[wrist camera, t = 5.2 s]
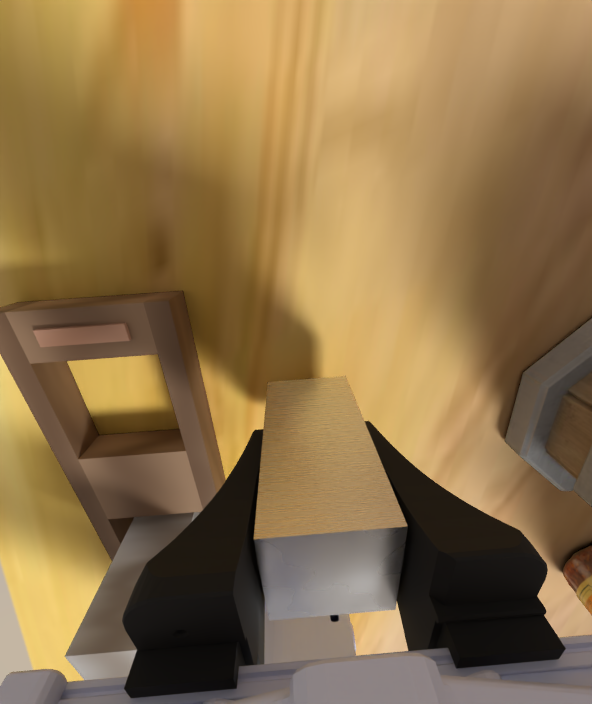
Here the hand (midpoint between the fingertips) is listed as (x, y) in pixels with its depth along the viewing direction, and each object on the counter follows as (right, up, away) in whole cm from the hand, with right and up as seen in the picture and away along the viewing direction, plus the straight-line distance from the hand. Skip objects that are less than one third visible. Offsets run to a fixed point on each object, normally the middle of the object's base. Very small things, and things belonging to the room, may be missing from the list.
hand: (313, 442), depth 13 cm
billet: (0, +1, +2) cm, 2 cm away
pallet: (-10, -3, +6) cm, 12 cm away
